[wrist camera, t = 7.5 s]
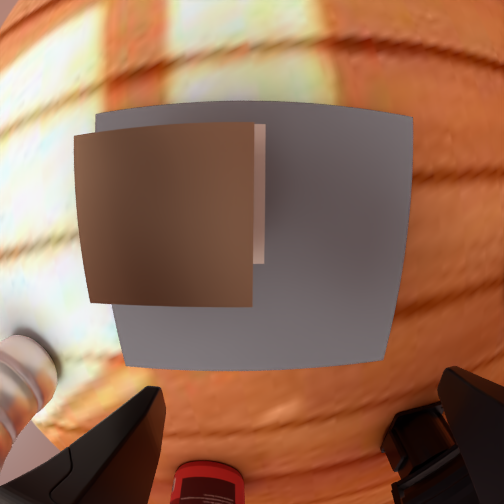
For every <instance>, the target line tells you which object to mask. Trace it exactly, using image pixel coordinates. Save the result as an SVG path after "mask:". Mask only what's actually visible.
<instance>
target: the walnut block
mask: <svg viewBox="0 0 504 504" xmlns="http://www.w3.org/2000/svg"><path fill="white" fill-rule="evenodd" d="M254 123H255V122H207V123H184V124H168V125H155V126H144V127H134V128H125V129H117V130H109V131H102V132H95V133H89V134H83V135H77V136H74V174H75V193H76V207H77V218H78V227H79V236H80V244H81V251H82V258H83V265H84V271H85V277H86V282H87V288H88V293H89V298H90V303H101V304H119V305H141V306H169V307H253V221H254Z"/></svg>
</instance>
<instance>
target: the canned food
mask: <svg viewBox="0 0 504 504" xmlns="http://www.w3.org/2000/svg"><path fill="white" fill-rule="evenodd" d="M170 504H245V495H244V482H243V479H242V477H241V474H240V473H239V472H238V471H237V470H235V469H234V468H232V467H230V466H227V465H225V464H221V463H218V462H212V461H194V462H189V463H186V464H183V465H182V466H180V467H179V469H178V470H177V472H176V473H175V476H174V482H173V488H172V494H171V500H170Z"/></svg>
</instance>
